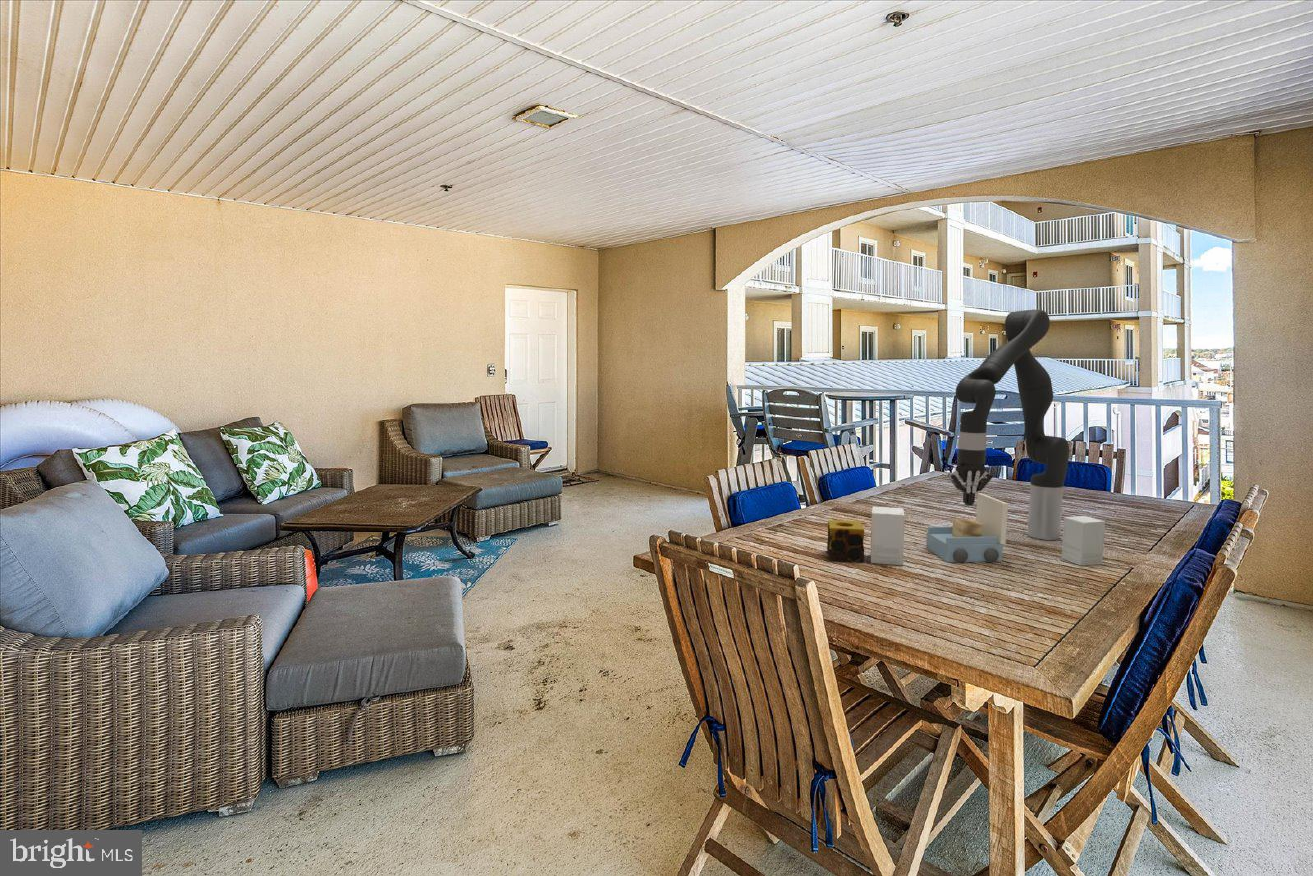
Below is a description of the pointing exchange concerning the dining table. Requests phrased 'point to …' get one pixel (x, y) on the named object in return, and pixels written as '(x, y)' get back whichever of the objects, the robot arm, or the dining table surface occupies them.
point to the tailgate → (992, 517)
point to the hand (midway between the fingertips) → (968, 505)
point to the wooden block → (967, 528)
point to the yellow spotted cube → (845, 541)
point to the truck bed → (962, 546)
